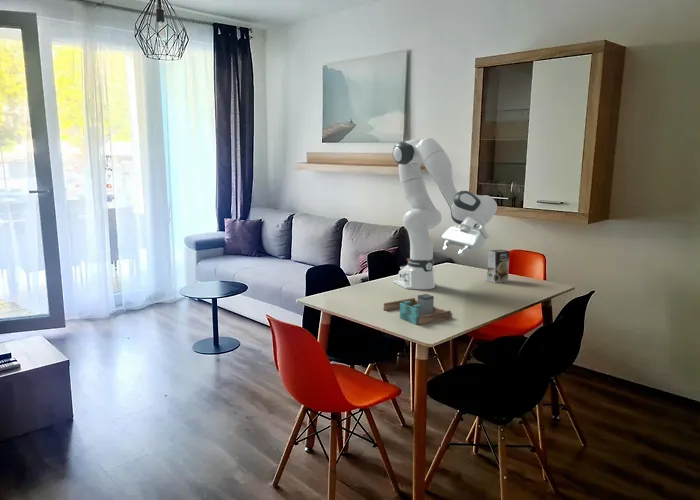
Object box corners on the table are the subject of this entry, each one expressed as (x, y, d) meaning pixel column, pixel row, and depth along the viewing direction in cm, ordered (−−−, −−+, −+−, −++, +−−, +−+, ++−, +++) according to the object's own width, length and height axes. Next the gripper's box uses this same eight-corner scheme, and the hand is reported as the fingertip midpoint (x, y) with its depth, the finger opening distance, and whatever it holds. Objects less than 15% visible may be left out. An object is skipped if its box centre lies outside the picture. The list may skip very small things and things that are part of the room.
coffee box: (495, 283, 266) (496, 252, 263) (486, 280, 271) (488, 250, 268) (508, 281, 270) (510, 250, 267) (499, 278, 275) (501, 248, 273)
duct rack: (381, 310, 217) (382, 294, 215) (415, 304, 226) (415, 289, 225) (417, 325, 198) (418, 308, 196) (452, 317, 207) (452, 301, 206)
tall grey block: (417, 317, 208) (417, 295, 206) (425, 315, 210) (426, 293, 209) (424, 319, 204) (425, 297, 203) (432, 318, 207) (433, 296, 205)
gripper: (450, 219, 226) (431, 243, 223) (485, 227, 209) (465, 252, 206) (456, 229, 229) (438, 252, 226) (492, 237, 213) (472, 262, 209)
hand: (451, 252), depth 216 cm, fingers open, 8 cm apart
